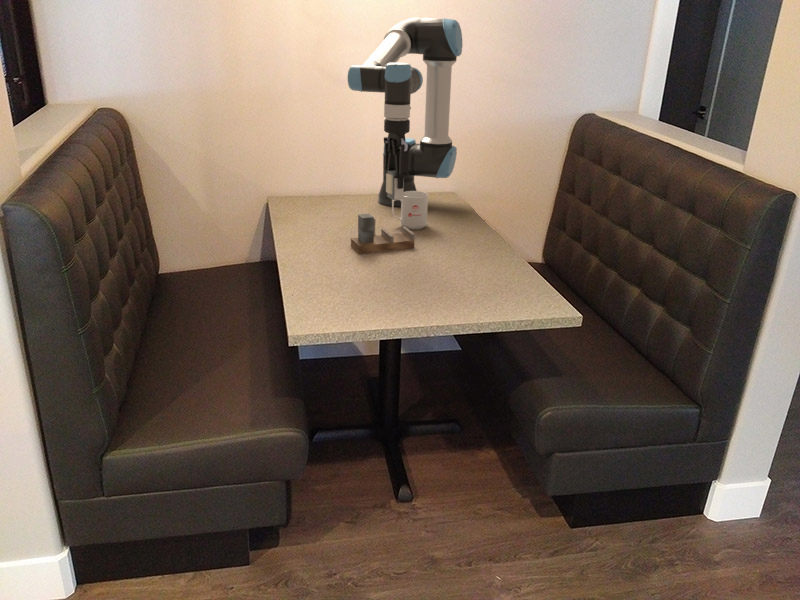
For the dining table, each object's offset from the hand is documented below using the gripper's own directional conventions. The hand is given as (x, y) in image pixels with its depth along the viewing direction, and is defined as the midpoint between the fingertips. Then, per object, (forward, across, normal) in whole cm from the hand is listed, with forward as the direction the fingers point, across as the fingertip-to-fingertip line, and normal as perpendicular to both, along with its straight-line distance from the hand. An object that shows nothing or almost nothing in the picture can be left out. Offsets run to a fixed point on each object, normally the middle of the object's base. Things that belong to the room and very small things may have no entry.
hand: (395, 196), depth 216 cm
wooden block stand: (+15, -1, +4) cm, 16 cm away
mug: (+15, +15, -13) cm, 25 cm away
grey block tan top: (0, 0, 0) cm, 0 cm away
